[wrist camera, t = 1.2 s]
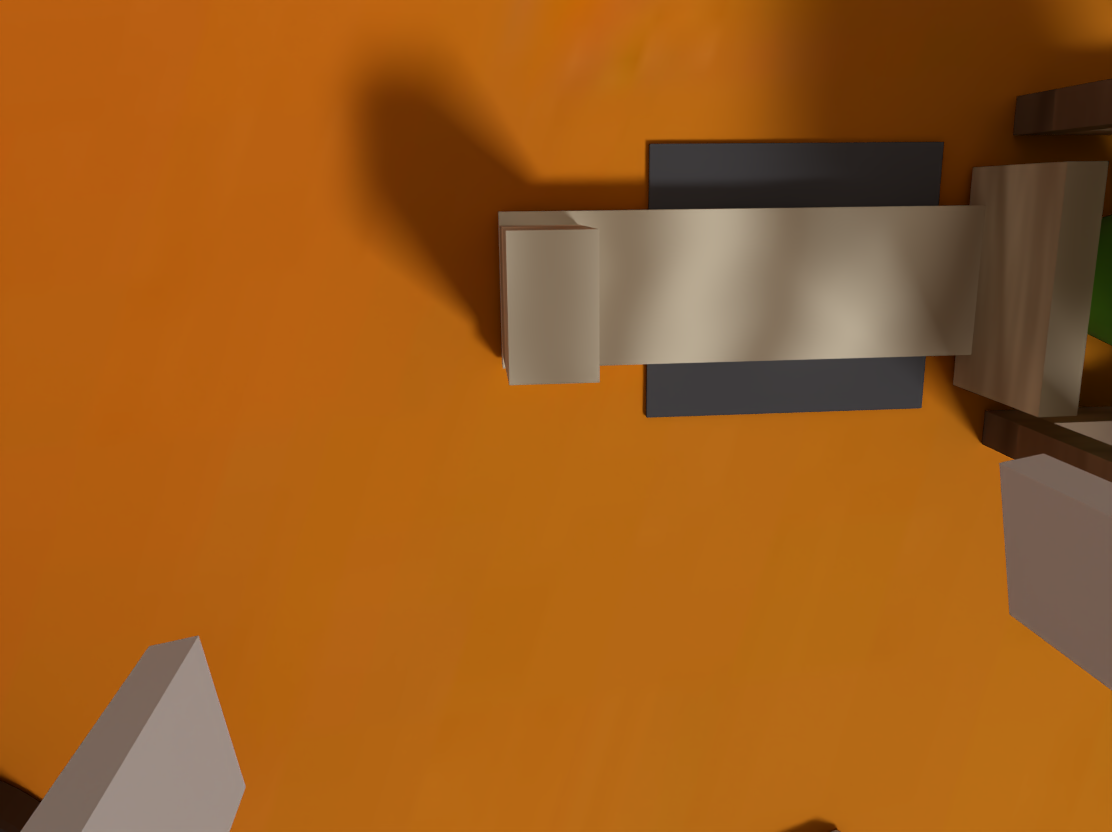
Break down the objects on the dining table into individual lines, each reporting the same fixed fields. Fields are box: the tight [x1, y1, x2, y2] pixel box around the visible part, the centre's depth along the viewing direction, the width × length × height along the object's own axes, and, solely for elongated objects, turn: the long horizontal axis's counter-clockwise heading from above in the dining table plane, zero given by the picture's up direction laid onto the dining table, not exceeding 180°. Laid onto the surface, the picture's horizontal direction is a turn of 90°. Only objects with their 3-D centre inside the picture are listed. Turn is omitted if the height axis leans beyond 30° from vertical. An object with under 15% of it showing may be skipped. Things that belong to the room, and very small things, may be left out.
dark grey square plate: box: [646, 142, 944, 417], centre depth 37 cm, size 12×11×1 cm
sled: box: [498, 161, 1109, 417], centre depth 34 cm, size 21×9×7 cm, turn 91°
